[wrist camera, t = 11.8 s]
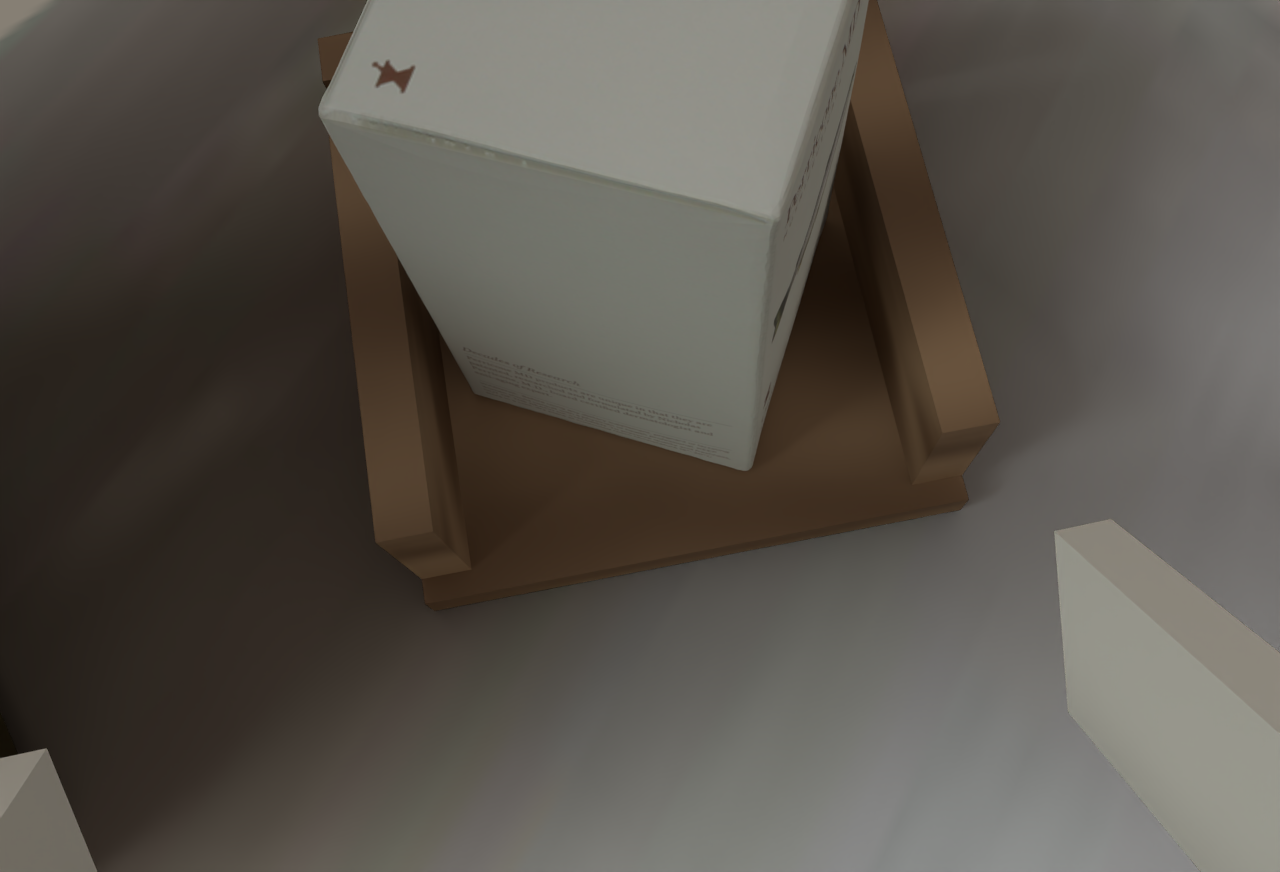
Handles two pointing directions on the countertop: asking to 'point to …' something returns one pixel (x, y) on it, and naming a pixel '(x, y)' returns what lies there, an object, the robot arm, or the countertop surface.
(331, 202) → the countertop surface
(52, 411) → the countertop surface
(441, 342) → the u rest
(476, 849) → the countertop surface
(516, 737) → the countertop surface
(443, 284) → the supplement box
